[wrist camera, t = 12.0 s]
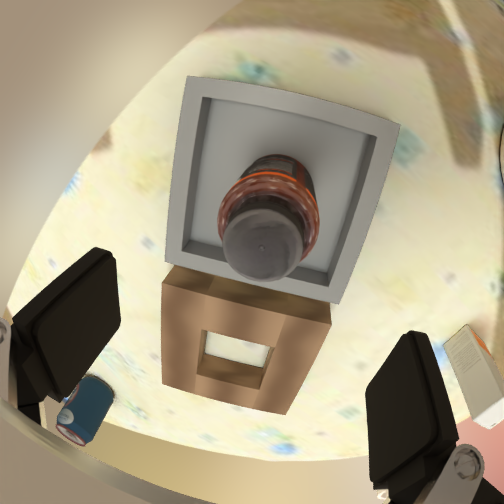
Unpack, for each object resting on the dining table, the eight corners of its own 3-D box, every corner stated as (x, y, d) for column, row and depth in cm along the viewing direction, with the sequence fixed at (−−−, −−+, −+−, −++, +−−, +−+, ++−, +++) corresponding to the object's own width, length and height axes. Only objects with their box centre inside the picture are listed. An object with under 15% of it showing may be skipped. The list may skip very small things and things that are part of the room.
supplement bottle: (229, 171, 24) (179, 218, 14) (294, 140, 23) (291, 164, 12) (261, 232, 26) (236, 311, 16) (324, 206, 25) (341, 276, 15)
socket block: (329, 302, 29) (331, 324, 26) (287, 394, 37) (285, 415, 34) (175, 264, 30) (161, 282, 27) (171, 364, 37) (162, 383, 34)
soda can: (80, 367, 43) (47, 417, 32) (113, 382, 43) (82, 437, 32) (87, 389, 46) (59, 435, 36) (118, 403, 46) (92, 453, 35)
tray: (389, 122, 21) (400, 124, 18) (335, 286, 28) (338, 304, 26) (199, 79, 22) (186, 75, 19) (176, 247, 29) (164, 261, 26)
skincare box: (484, 341, 29) (518, 409, 18) (461, 361, 31) (488, 431, 20) (466, 322, 28) (504, 397, 18) (441, 344, 30) (471, 422, 19)
